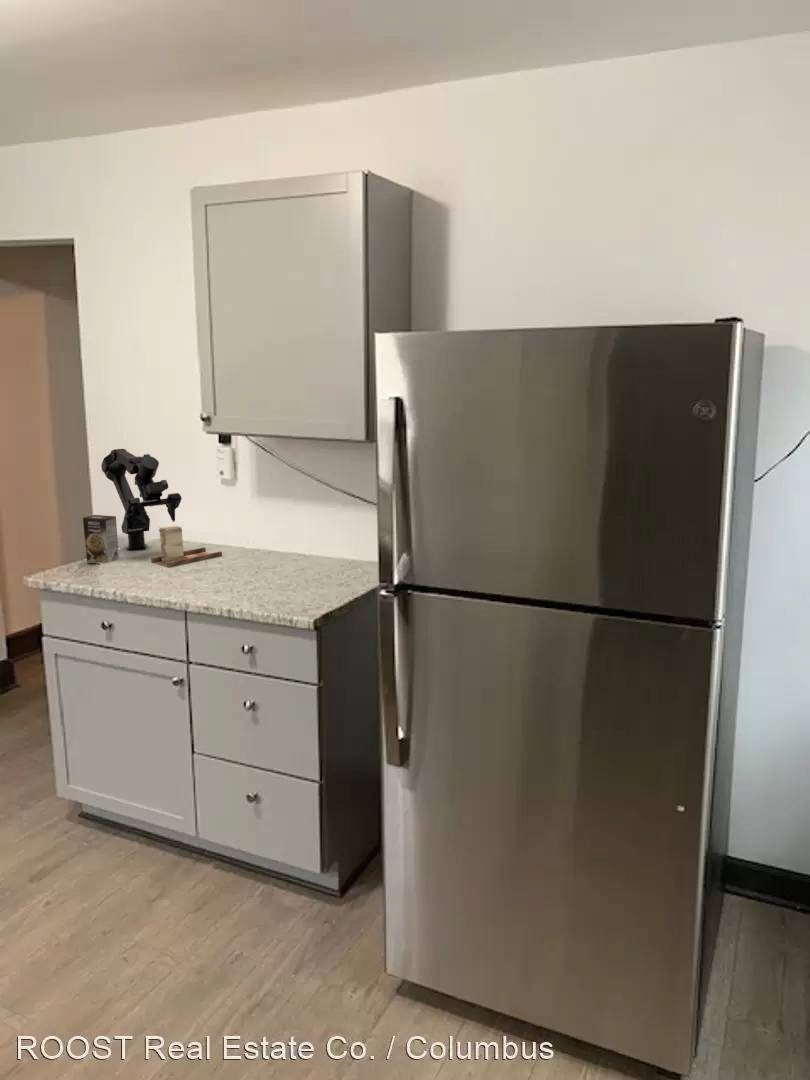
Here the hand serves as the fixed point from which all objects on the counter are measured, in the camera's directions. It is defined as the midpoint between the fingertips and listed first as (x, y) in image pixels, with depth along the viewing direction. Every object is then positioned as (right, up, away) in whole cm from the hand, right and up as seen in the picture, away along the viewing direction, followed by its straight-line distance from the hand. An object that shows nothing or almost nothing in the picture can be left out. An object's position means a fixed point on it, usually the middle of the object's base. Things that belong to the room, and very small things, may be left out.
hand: (161, 522), depth 287 cm
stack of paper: (+5, -13, -4) cm, 15 cm away
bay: (+9, -13, +1) cm, 16 cm away
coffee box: (-20, -14, +2) cm, 25 cm away
